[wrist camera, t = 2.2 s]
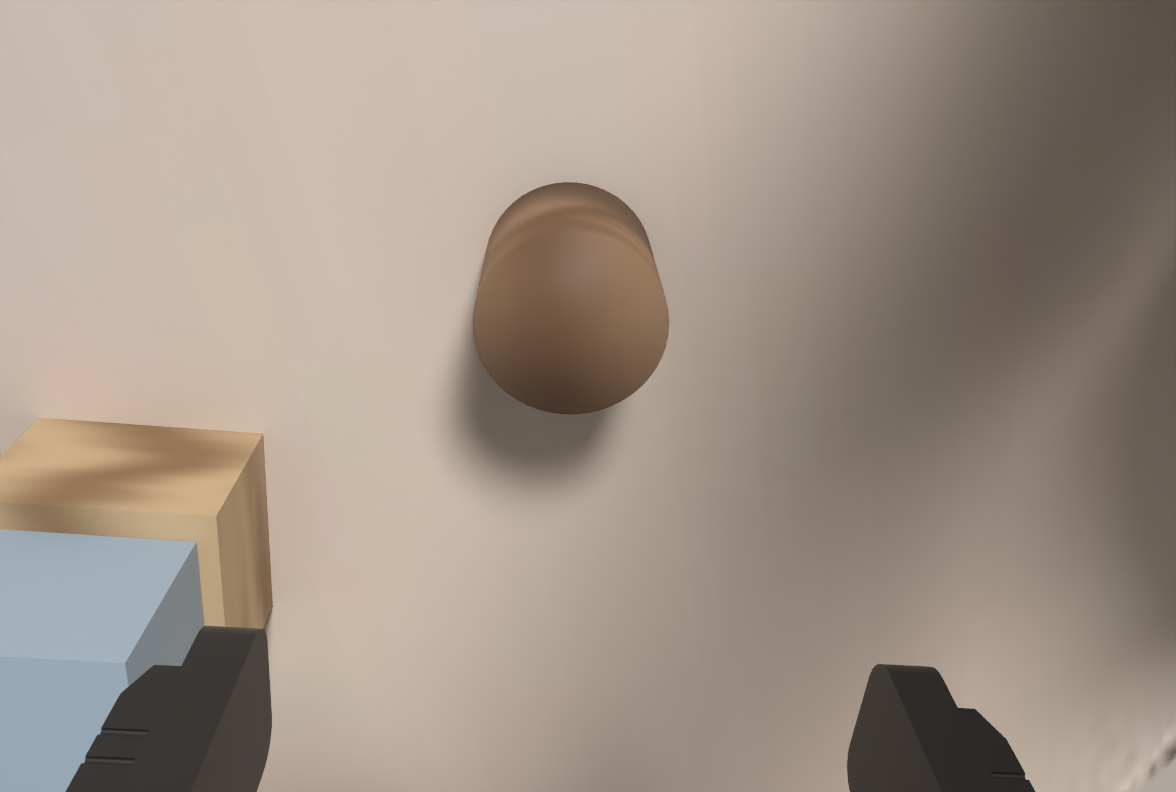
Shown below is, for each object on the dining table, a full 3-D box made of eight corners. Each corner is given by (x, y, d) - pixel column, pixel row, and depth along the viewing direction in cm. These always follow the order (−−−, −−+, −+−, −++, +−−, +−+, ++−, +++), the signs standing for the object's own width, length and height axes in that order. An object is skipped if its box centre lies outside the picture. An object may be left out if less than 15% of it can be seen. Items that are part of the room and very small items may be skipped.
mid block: (196, 541, 28) (125, 663, 23) (211, 690, 30) (148, 826, 25) (-5, 528, 27) (-118, 649, 23) (26, 680, 30) (-70, 816, 25)
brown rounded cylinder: (660, 189, 28) (680, 240, 24) (642, 346, 31) (656, 420, 26) (489, 175, 28) (476, 224, 24) (482, 335, 30) (469, 407, 26)
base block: (264, 431, 32) (216, 516, 27) (273, 604, 35) (231, 705, 30) (42, 415, 31) (-45, 499, 27) (71, 592, 34) (-3, 693, 30)
